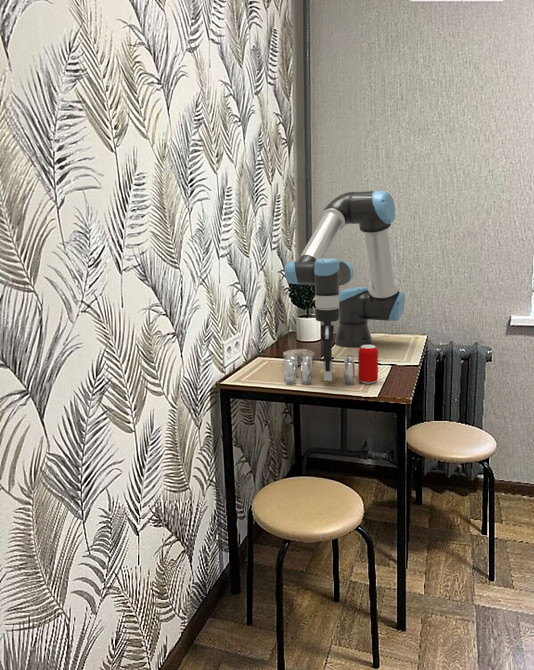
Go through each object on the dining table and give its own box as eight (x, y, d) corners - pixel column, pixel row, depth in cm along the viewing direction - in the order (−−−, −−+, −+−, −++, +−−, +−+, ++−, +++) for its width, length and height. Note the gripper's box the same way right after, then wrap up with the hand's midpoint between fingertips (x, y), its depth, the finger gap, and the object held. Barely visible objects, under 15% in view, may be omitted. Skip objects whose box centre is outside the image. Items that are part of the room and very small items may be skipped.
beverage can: (357, 379, 204) (357, 344, 201) (376, 379, 203) (376, 343, 201) (359, 384, 198) (359, 348, 195) (379, 384, 197) (379, 348, 195)
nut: (321, 378, 207) (321, 368, 206) (336, 378, 206) (336, 368, 205) (319, 382, 202) (319, 372, 202) (335, 383, 201) (334, 372, 201)
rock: (283, 368, 222) (282, 352, 220) (284, 360, 232) (284, 345, 231) (314, 368, 221) (313, 352, 219) (314, 360, 231) (313, 345, 230)
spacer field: (285, 375, 211) (285, 355, 210) (369, 375, 208) (369, 355, 206) (282, 384, 201) (282, 363, 199) (370, 385, 197) (370, 363, 196)
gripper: (316, 304, 201) (317, 374, 206) (314, 311, 189) (315, 385, 194) (339, 304, 200) (339, 374, 205) (338, 311, 188) (339, 385, 193)
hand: (327, 379), depth 199 cm, fingers closed
